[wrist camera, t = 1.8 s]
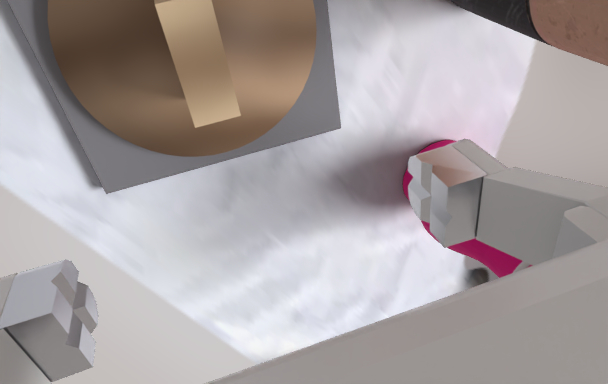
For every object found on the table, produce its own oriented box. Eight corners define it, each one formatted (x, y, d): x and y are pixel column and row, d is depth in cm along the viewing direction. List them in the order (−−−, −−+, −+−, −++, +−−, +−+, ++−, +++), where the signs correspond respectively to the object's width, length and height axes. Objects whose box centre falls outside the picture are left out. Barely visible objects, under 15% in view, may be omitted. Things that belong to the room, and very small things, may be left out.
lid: (325, 118, 30) (352, 151, 26) (115, 176, 28) (111, 221, 24) (291, -137, 22) (323, -144, 18) (-10, -83, 20) (-47, -78, 16)
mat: (337, 123, 31) (341, 128, 31) (107, 187, 29) (106, 194, 28) (303, -165, 22) (308, -167, 21) (-41, -106, 19) (-48, -106, 19)
